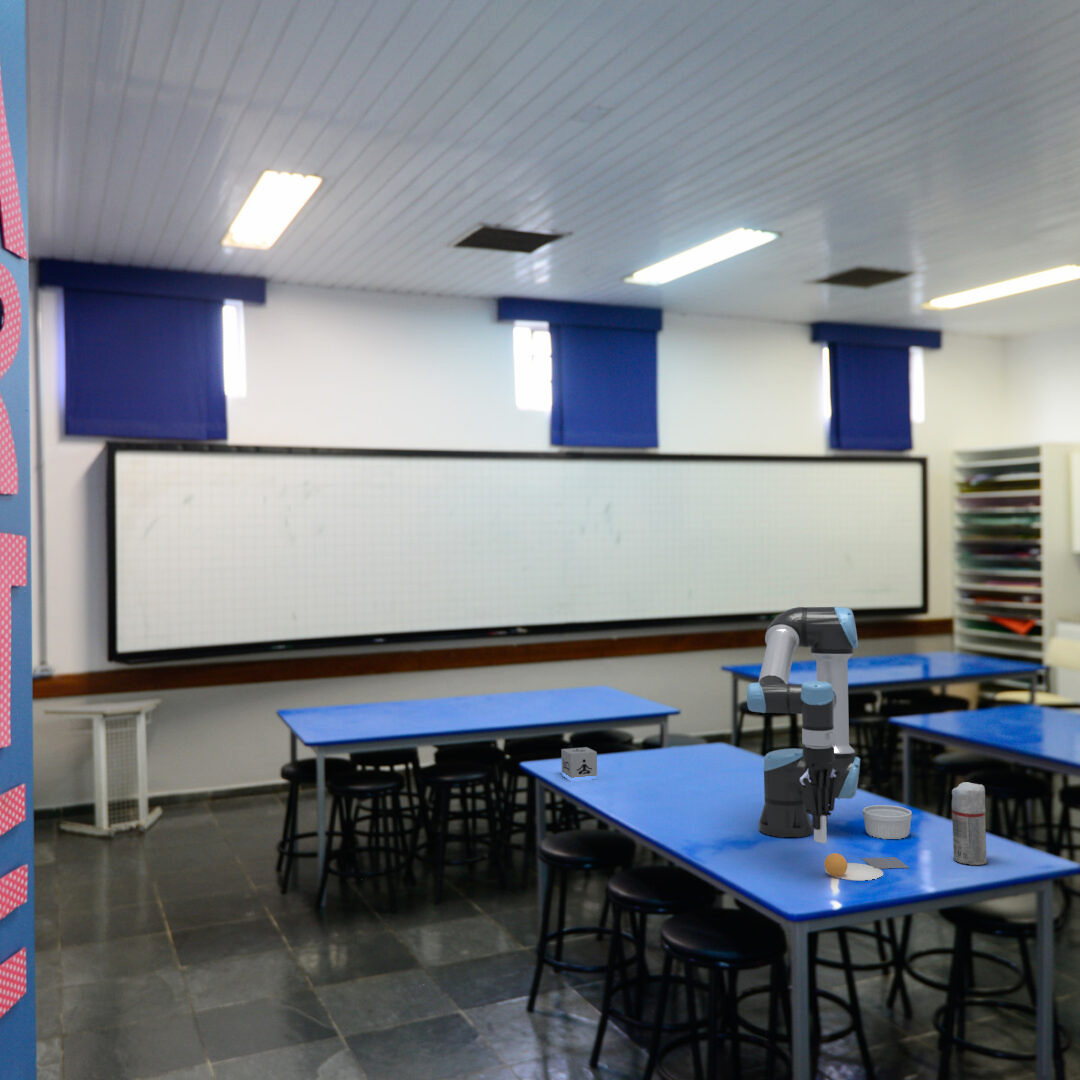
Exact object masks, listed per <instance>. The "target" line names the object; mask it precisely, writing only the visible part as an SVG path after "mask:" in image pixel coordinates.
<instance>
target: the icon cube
mask: <svg viewBox="0 0 1080 1080" xmlns="http://www.w3.org/2000/svg"><path fill="white" fill-rule="evenodd" d="M560 750H561V773H562V772H563V773H565V774H566V775H568V776H569V777H571V778H574V777H585V776H596V775H597V776H598V753H597V751H596V750H594V749H591V748H590V747H587V746H585V747H574V748H573V747H572V748H562V749H560Z"/></svg>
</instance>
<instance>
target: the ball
mask: <svg viewBox="0 0 1080 1080" xmlns="http://www.w3.org/2000/svg"><path fill="white" fill-rule="evenodd" d="M847 863H848V862H847V860H846V858H845V856H843V855H842V854H841V853H836V852H833V853H830V854H828V855H827V856H826V857H825V859H824V864H823V865H824V870H825V869H826V871H827V872H828V873H829V874H830V875H829V874H828V875H829V876H831V875H832V876H831V877H833V876H841V875H843V874H844V873H845V872H846V870H847Z"/></svg>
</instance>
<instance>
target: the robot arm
mask: <svg viewBox="0 0 1080 1080" xmlns="http://www.w3.org/2000/svg"><path fill="white" fill-rule="evenodd" d="M856 627H857V626H856V619H855V616H854V613H853V610H852V609H850V608H849V607H844V606H843V607H842V606H841V607H840V606H822V607H821V606H817V607H816V606H809V607H808V606H805V607H804V606H798V607H792V608H790V609H787V610H786V611H783V612H782V613H780V614H778V616H776V617H775V618H774V619H773V620H772V621H771V622H770V624H769V625H768V627H767V629H766V630H765V631H766V632H765V635H764V637H765V638H764V642H765V644H766V647H765V652H764V656H763V657H764V658H763V660H762V665H761V670H760V673H759V678H758V682H751V683H749V684H748V685H747V688H746V689H747V690H746V704H747V708H748V710H749V711H751V712H756V713H762V714H765V713H766V714H767V713H768V714H771V713H772V714H795V715H801V721H802V725H801V733H802V734H801V738H802V739H801V740H802V744H803V746H802V748H792V747H791V748H783V749H777V750H776V749H775V750H772V751H769V752H768V753H766V754H765V755H764V758H763V768H762V769H763V788H764V789H763V791H764V804H763V807H762V811H761V815H760V818H759V821H758V831H759V830H760V831H761V832H762V833H761V832H760V831H759V832H760V833H761V834H763V833H765V834H764V835H766V834H767V836H770V835H772V836H771V837H775V836H777V838H784V837H797V838H804V837H808V836H810V835H812V834H813V841H814V842H817V843H820V844H822V845H823V844H827V841H828V839H827V838H828V835H827V834H828V833H827V828H828V824H829V823H828V817H829V816H831V815H832V812H833V811H834V809H835V801H836V799H837V800H840V799H843V800H844V799H848V800H849V799H853V798H854V797H856V794H857V791H858V790H857V789H858V783H859V775H860V765H861V758H860V757H859V756H856V753H855V749H854V748H853V746H851V745H850V729H849V727H850V725H849V723H850V722H849V678H848V677H849V674H848V671H849V670H848V661H849V659H850V658H851V657H852V656H853V655H854V650H855V649H857V648H858V647H859V641H858V634H857V628H856ZM798 648H810V655H812V657H813V658H814V659H815V661H816V680H815V681H814V680H812V681H805V682H803V683H789V679H790V675H791V670H792V669H791V668H792V664H793V657H794V653H795V651H796V650H797V649H798ZM810 815H811V816H810ZM811 818H812V820H811Z"/></svg>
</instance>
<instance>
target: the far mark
mask: <svg viewBox="0 0 1080 1080" xmlns="http://www.w3.org/2000/svg"><path fill="white" fill-rule="evenodd" d="M885 858H886V859H885ZM887 858H889V859H887ZM882 859H883V860H882ZM861 860H862V861H863V860H864V861H863V862H865V863H866V865H868V864H869V865H870V866H872V867H876V868H878V869H880V870H890V869H889V868H904V869H910V867H909V866H908V865H907V864H905V863H904V862H903V861H901V860H900V859H898V858H897V857H896V856H894V857H893V856H891V857H862V858H861ZM889 860H890V861H889ZM892 860H893V861H892ZM874 869H875V868H874Z"/></svg>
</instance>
